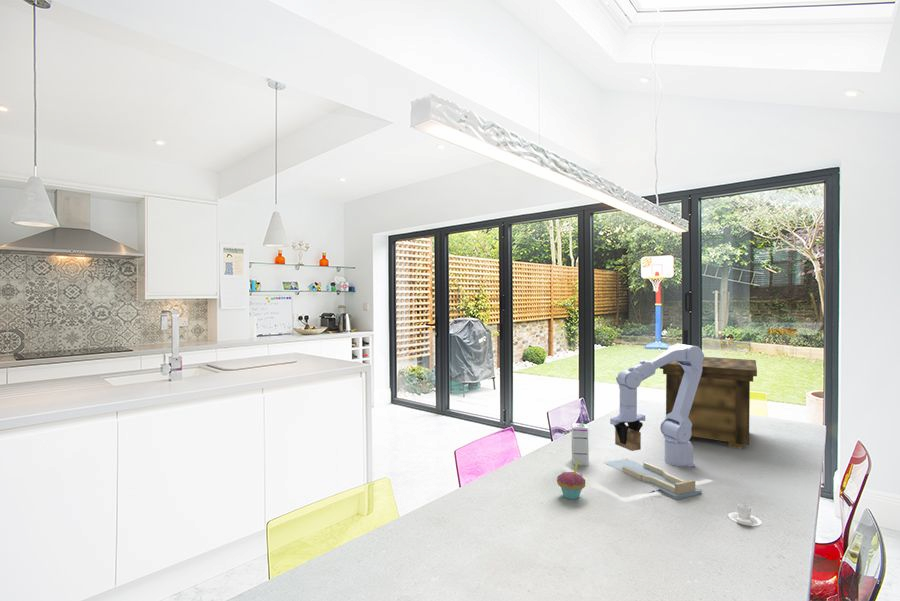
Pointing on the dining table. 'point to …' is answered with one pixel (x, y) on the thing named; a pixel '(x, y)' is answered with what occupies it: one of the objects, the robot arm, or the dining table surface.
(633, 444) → the brown prism
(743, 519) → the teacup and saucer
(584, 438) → the syrup box
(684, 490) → the slide board
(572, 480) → the cupcake
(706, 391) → the crate
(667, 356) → the robot arm
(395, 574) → the dining table surface
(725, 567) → the dining table surface
